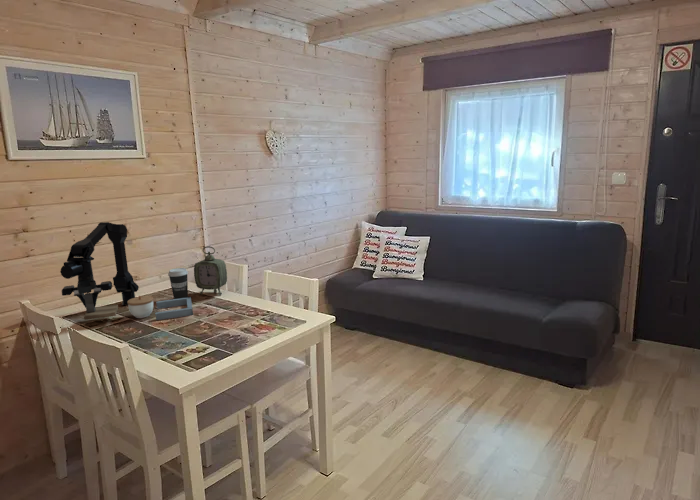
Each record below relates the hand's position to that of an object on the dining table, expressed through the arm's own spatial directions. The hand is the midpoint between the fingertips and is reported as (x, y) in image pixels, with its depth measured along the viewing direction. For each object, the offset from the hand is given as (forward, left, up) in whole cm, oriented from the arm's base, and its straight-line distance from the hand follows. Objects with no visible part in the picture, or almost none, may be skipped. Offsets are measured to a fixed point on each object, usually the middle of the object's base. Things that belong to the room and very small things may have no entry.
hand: (90, 307), depth 206 cm
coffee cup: (-19, +37, -8) cm, 42 cm away
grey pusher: (0, +4, -4) cm, 5 cm away
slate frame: (0, +34, -7) cm, 35 cm away
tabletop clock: (-21, +53, -8) cm, 58 cm away
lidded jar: (0, +20, -8) cm, 21 cm away
